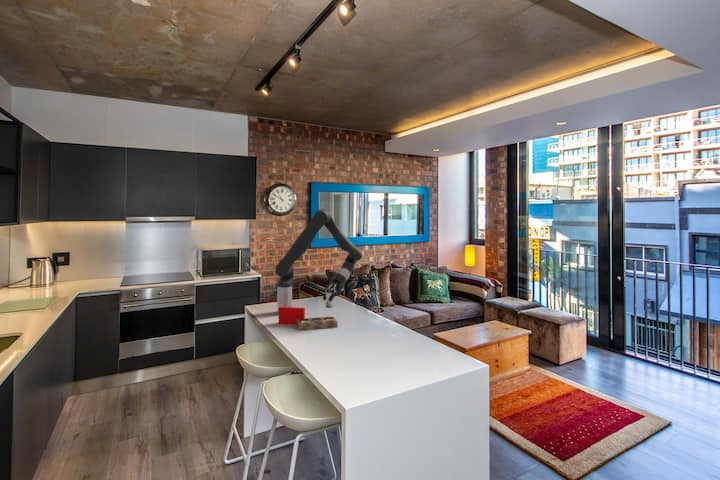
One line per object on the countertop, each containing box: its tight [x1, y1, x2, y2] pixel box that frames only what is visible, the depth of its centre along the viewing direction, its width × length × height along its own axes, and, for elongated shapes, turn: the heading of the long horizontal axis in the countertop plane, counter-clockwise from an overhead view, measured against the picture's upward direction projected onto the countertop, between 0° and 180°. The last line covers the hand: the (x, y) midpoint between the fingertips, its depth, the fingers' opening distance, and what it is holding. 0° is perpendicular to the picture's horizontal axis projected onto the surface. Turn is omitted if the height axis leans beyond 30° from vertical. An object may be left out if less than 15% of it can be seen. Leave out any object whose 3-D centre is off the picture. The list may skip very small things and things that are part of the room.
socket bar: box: [296, 315, 339, 331], centre depth 215 cm, size 22×10×4 cm, turn 109°
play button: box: [278, 306, 306, 326], centre depth 218 cm, size 15×3×10 cm, turn 82°
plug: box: [324, 287, 334, 309], centre depth 218 cm, size 5×5×11 cm
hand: (326, 300), depth 216 cm, fingers closed on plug, 4 cm apart
